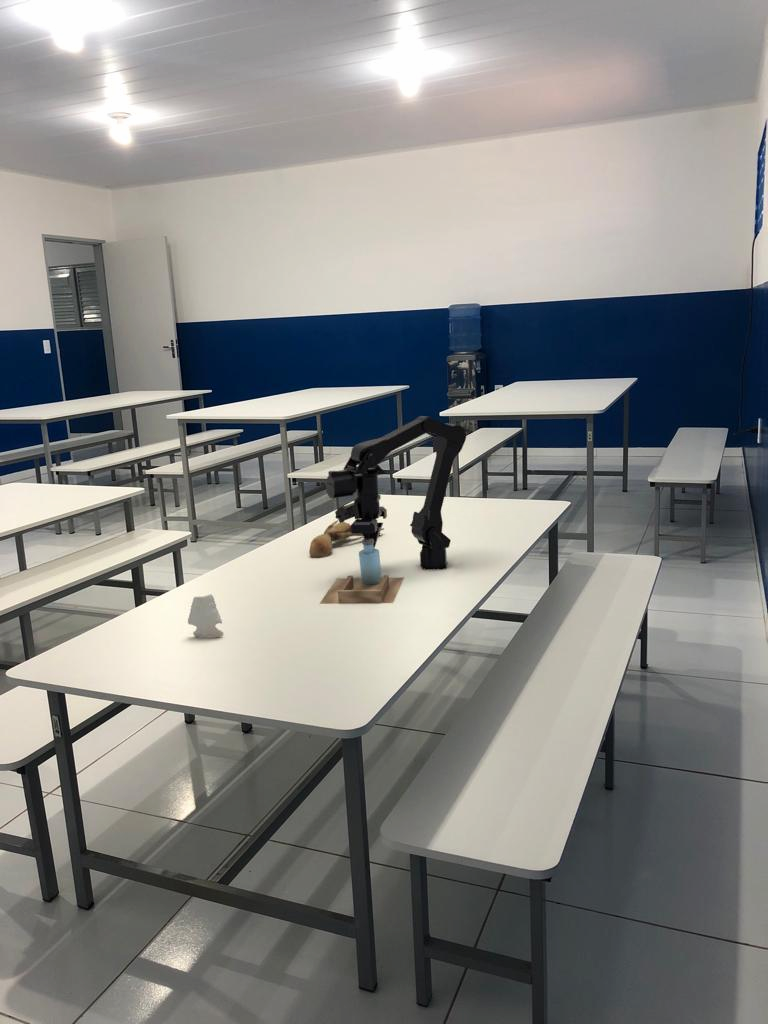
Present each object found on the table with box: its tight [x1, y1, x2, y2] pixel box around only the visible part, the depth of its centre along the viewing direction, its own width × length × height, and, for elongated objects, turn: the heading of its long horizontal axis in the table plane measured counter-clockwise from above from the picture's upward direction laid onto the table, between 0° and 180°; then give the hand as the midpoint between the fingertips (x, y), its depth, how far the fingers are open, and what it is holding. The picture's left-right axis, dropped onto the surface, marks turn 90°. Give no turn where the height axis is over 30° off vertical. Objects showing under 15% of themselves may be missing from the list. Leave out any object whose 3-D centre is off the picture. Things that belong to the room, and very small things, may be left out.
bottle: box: [358, 538, 383, 585], centre depth 215 cm, size 5×5×11 cm
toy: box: [308, 519, 385, 558], centre depth 258 cm, size 17×8×30 cm
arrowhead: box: [187, 593, 224, 638], centre depth 186 cm, size 8×2×10 cm, turn 81°
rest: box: [319, 574, 405, 605], centre depth 211 cm, size 18×20×4 cm
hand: (371, 551), depth 218 cm, fingers closed
